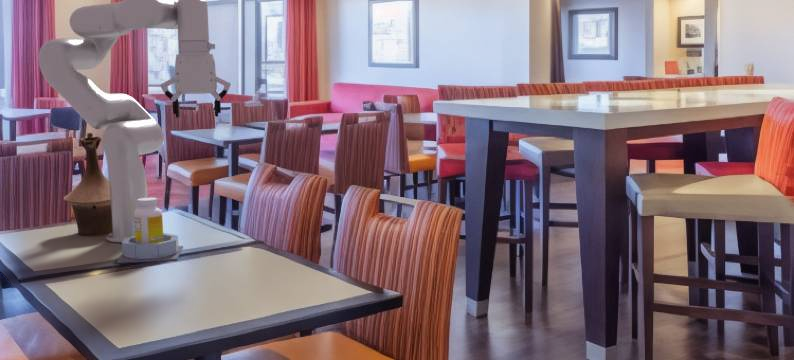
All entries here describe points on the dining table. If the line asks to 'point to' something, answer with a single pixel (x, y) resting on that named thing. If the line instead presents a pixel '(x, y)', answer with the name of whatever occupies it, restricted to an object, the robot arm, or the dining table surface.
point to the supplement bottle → (148, 222)
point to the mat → (170, 258)
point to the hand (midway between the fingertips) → (197, 116)
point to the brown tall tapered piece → (92, 195)
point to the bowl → (150, 248)
